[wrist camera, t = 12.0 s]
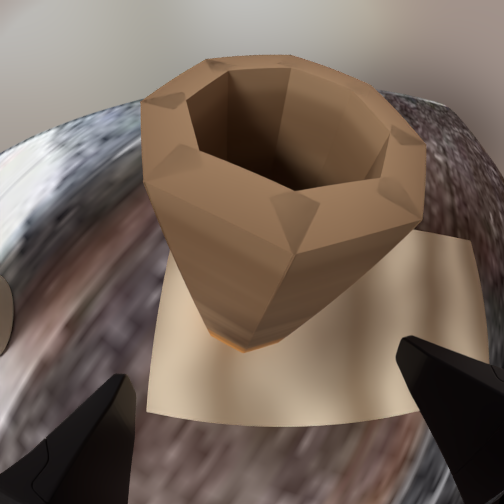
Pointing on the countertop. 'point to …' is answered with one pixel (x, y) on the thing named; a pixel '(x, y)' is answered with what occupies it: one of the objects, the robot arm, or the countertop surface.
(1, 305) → the travel mug
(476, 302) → the pin board
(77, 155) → the countertop surface
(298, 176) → the sleeve
